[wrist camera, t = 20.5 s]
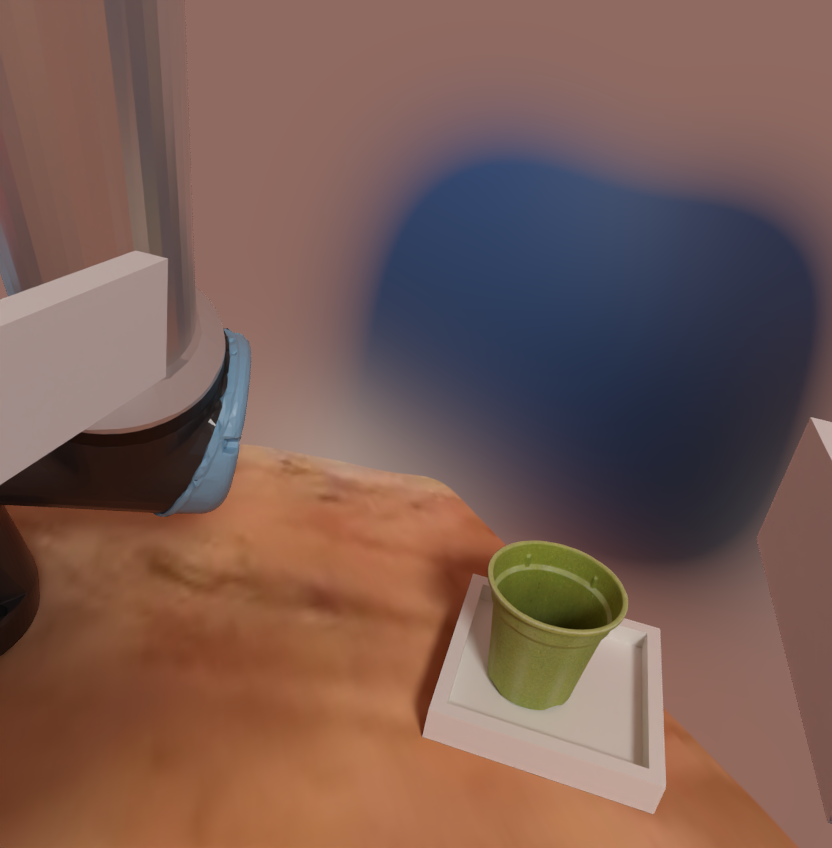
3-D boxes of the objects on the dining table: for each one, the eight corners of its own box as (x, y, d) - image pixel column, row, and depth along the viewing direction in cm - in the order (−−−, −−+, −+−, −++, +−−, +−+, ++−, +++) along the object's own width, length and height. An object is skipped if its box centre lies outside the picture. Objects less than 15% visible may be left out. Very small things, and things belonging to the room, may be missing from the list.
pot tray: (422, 736, 50) (428, 709, 49) (467, 597, 63) (473, 573, 62) (653, 814, 48) (666, 787, 47) (650, 652, 61) (660, 628, 60)
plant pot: (448, 701, 52) (473, 601, 48) (480, 616, 60) (504, 524, 56) (585, 752, 50) (623, 652, 46) (599, 656, 58) (632, 565, 54)
